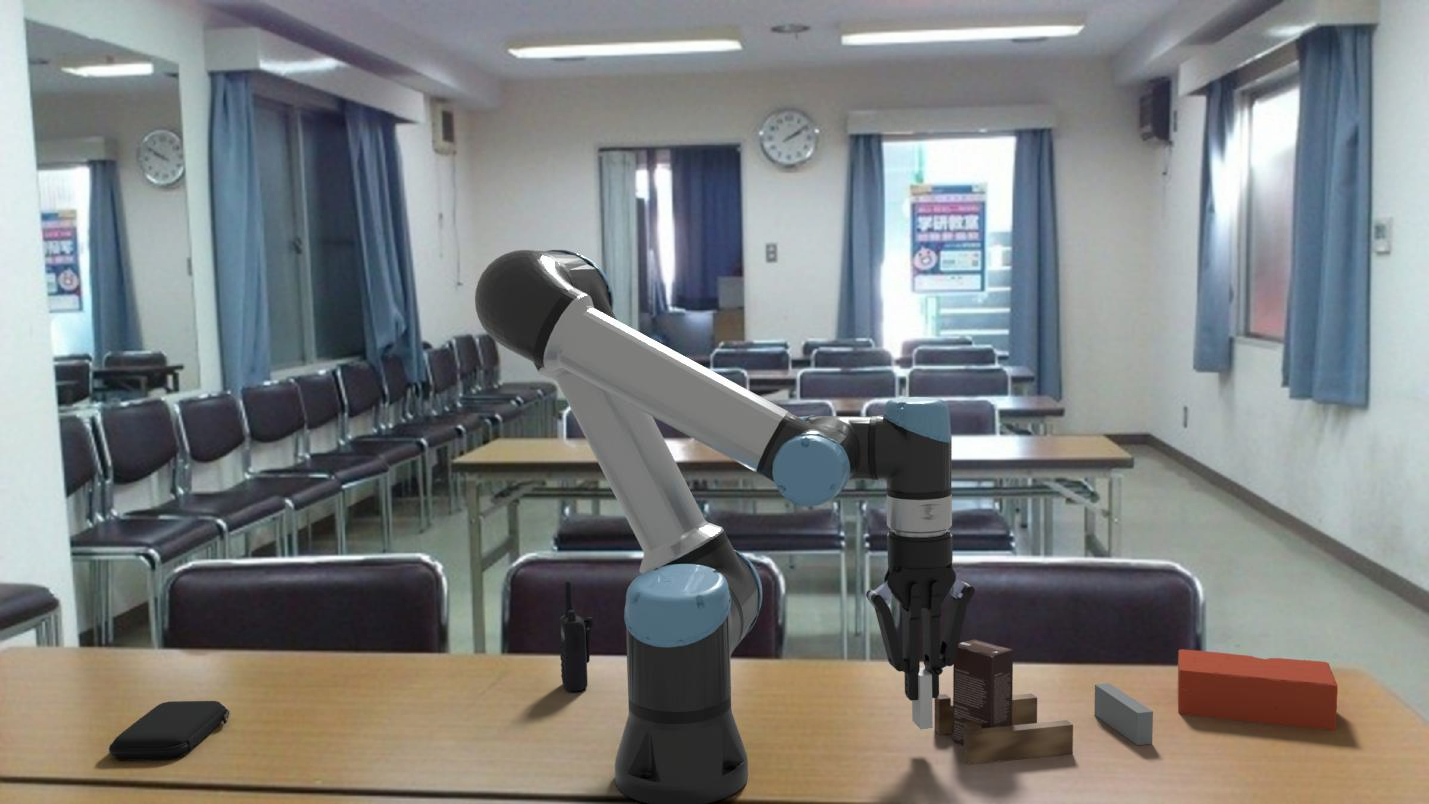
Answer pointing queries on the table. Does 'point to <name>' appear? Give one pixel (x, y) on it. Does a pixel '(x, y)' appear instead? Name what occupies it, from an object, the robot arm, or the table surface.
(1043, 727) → the brown piece
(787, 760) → the table surface
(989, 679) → the box
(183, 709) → the carrying case or bag
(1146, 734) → the end stop
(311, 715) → the table surface
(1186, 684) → the brick
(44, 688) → the table surface
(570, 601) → the two-way radio
